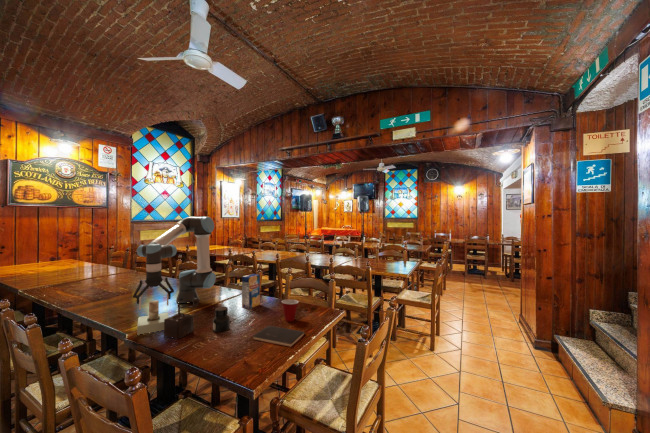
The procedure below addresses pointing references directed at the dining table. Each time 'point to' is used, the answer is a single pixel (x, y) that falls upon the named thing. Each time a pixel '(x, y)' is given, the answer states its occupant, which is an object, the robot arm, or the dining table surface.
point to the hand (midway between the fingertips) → (154, 306)
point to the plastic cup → (289, 309)
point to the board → (151, 324)
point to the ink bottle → (221, 320)
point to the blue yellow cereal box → (250, 290)
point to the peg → (153, 310)
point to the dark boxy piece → (180, 322)
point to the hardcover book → (279, 335)
